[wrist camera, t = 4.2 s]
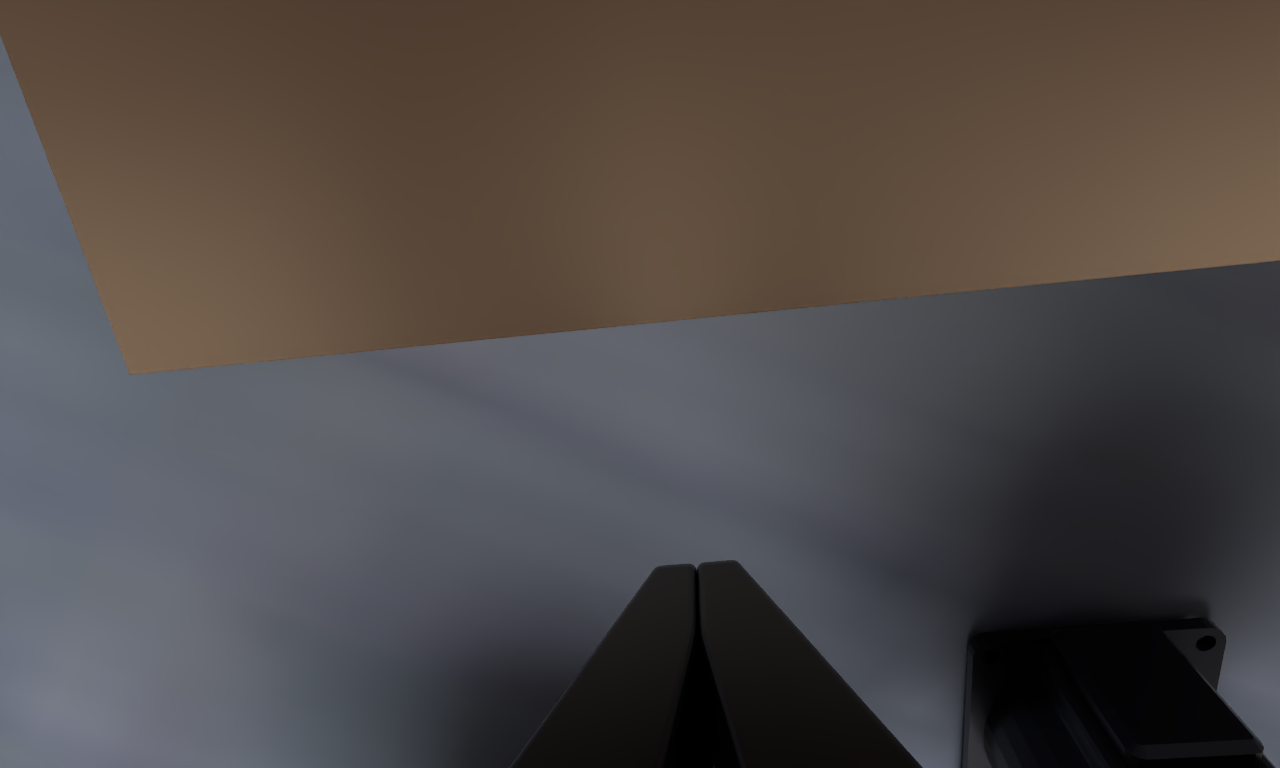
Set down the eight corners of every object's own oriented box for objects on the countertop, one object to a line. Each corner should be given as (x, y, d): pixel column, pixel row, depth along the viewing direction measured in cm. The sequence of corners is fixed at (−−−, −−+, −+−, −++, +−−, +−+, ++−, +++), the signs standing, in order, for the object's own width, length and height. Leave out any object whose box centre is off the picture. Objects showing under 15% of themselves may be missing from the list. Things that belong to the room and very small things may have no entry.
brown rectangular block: (880, 151, 17) (1278, 299, 6) (478, 197, 18) (142, 407, 7) (880, -132, 15) (1473, -727, 4) (428, -67, 16) (-170, -410, 5)
